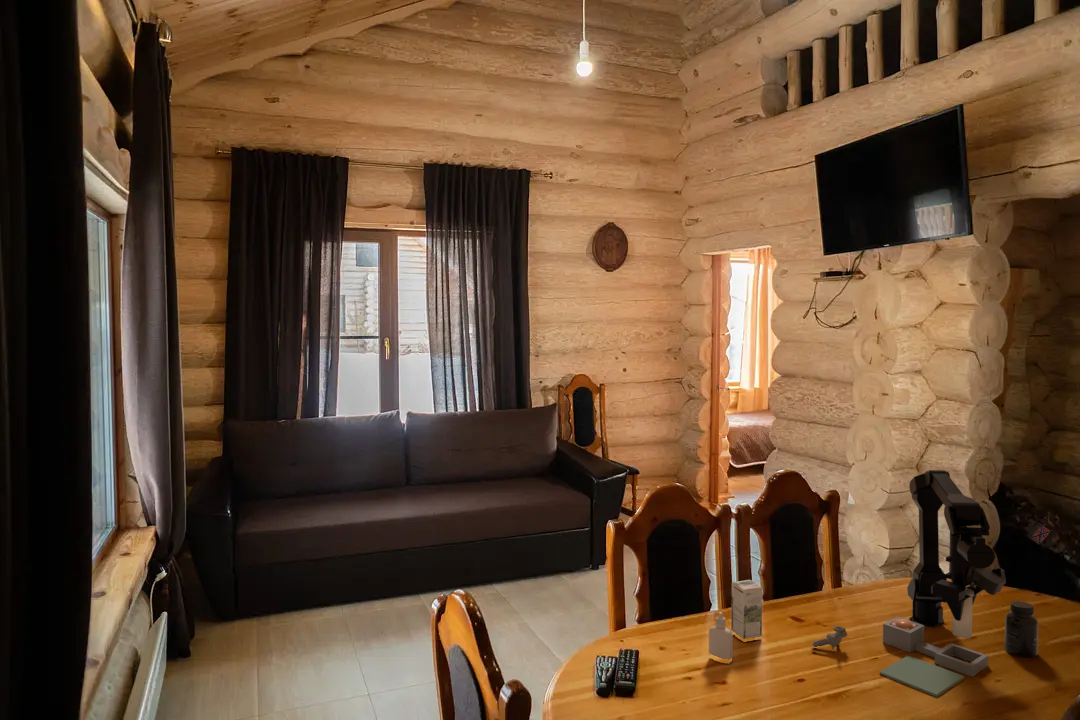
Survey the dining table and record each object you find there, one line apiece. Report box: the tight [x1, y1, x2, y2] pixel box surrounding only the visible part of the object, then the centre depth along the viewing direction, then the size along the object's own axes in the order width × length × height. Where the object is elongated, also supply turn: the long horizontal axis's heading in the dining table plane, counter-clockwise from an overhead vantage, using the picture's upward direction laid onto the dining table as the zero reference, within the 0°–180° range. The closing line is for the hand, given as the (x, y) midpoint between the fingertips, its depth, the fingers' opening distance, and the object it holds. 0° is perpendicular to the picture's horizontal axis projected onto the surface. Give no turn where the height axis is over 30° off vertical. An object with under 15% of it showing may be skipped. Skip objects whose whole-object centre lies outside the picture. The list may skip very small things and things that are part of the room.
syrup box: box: [730, 579, 763, 639], centre depth 191 cm, size 6×6×14 cm
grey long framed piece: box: [882, 616, 989, 677], centre depth 180 cm, size 22×8×5 cm, turn 36°
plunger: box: [891, 618, 917, 631], centre depth 186 cm, size 4×4×6 cm
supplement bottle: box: [1004, 600, 1039, 658], centre depth 180 cm, size 7×7×12 cm
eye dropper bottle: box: [708, 611, 734, 660], centre depth 179 cm, size 4×6×12 cm
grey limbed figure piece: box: [811, 624, 848, 651], centre depth 184 cm, size 10×6×9 cm
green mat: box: [879, 655, 965, 698], centre depth 170 cm, size 13×13×1 cm
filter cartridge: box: [951, 588, 974, 639], centre depth 174 cm, size 5×5×11 cm
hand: (962, 617), depth 174 cm, fingers closed on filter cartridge, 4 cm apart
